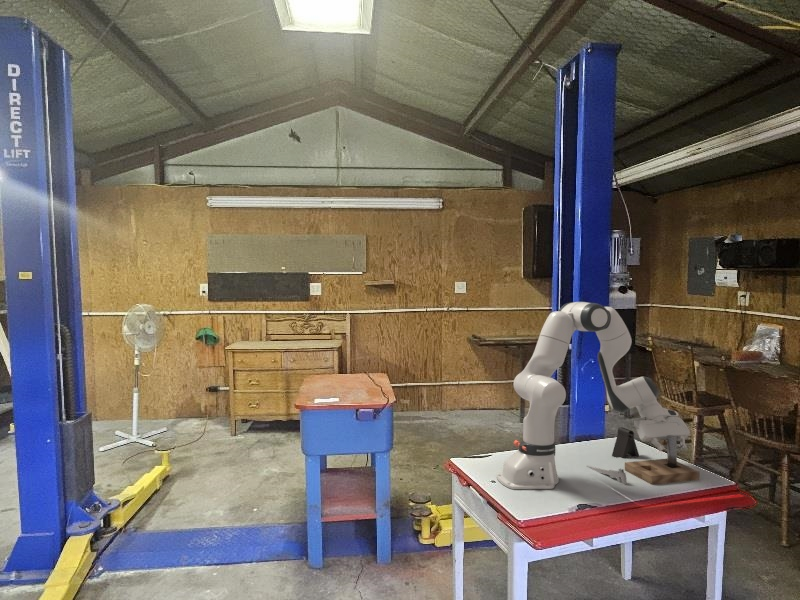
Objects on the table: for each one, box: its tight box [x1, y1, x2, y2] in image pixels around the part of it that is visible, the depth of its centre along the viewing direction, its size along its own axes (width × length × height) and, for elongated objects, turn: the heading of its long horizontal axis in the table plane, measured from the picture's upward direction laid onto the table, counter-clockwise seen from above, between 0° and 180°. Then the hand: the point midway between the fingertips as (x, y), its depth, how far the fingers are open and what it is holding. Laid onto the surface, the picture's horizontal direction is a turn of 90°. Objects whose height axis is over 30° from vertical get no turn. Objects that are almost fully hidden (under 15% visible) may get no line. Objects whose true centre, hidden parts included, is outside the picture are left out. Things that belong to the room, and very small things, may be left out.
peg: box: [666, 435, 678, 468], centre depth 176 cm, size 3×3×14 cm
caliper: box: [585, 465, 628, 486], centre depth 176 cm, size 20×1×6 cm, turn 20°
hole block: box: [624, 458, 700, 486], centre depth 175 cm, size 20×14×4 cm
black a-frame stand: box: [611, 426, 640, 459], centre depth 197 cm, size 9×6×12 cm, turn 106°
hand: (673, 449), depth 176 cm, fingers open, 8 cm apart
